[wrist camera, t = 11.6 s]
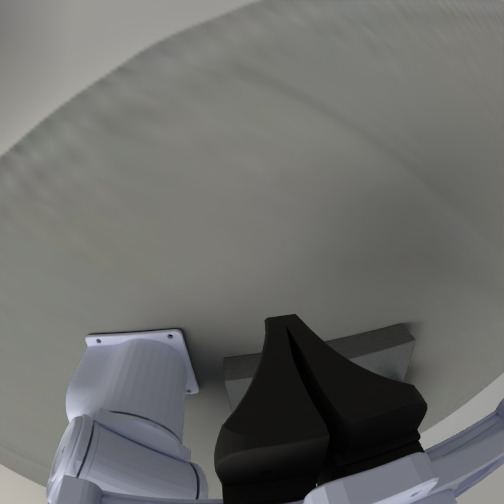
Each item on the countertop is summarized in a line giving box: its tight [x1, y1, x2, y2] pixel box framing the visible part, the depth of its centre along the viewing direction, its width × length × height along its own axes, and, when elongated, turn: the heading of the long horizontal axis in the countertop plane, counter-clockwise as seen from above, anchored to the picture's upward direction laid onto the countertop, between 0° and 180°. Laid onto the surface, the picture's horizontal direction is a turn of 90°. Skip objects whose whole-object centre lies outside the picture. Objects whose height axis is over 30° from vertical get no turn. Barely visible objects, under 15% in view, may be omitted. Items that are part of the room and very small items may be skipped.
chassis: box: [223, 323, 416, 413], centre depth 28 cm, size 18×20×4 cm
